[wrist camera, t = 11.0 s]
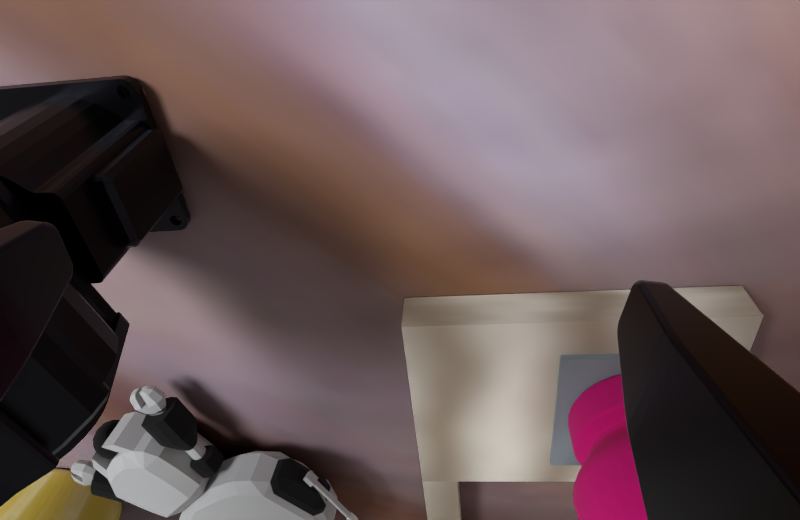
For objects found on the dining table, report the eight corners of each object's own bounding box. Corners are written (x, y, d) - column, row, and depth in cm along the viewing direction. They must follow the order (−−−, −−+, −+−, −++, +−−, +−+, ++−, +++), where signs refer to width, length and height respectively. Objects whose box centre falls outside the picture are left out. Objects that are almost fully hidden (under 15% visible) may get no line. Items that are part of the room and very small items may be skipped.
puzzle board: (434, 535, 38) (433, 569, 36) (404, 297, 25) (400, 331, 24) (655, 538, 36) (666, 574, 35) (741, 285, 24) (767, 320, 22)
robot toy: (88, 437, 36) (275, 538, 40) (42, 499, 32) (254, 604, 36) (167, 339, 30) (377, 470, 34) (122, 402, 26) (365, 540, 30)
